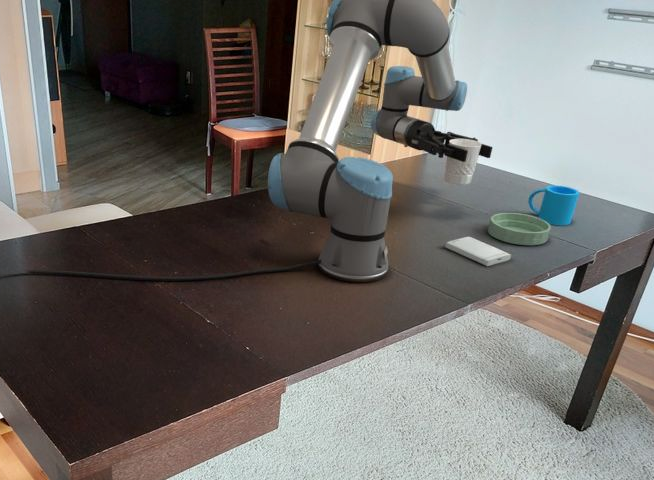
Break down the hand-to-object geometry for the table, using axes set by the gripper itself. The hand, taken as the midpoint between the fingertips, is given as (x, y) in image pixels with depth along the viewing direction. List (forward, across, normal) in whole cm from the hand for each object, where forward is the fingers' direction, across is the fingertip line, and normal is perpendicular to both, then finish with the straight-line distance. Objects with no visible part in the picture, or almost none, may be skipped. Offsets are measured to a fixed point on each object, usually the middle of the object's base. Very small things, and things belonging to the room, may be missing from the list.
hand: (478, 154), depth 169 cm
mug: (+7, -24, -18) cm, 31 cm away
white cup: (-5, 0, -8) cm, 10 cm away
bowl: (+13, -5, -18) cm, 23 cm away
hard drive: (+17, +13, -18) cm, 28 cm away
